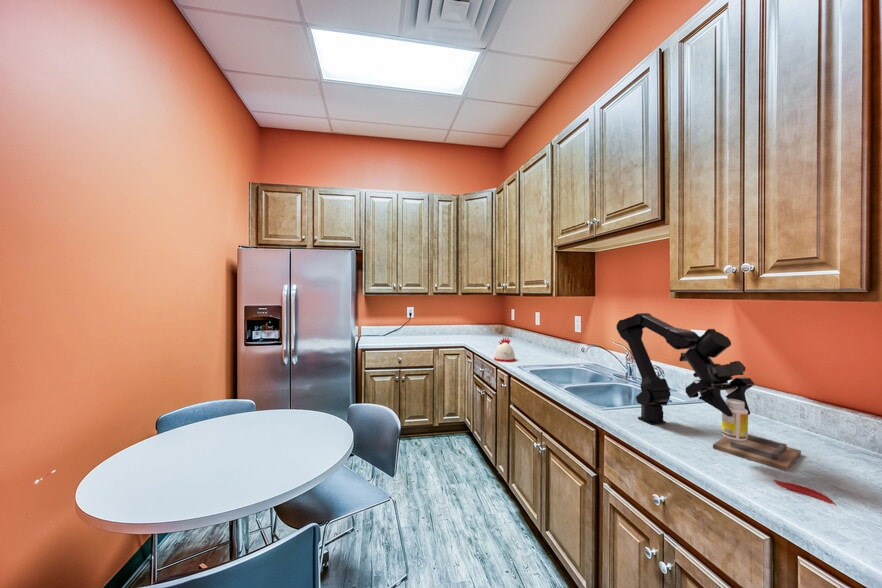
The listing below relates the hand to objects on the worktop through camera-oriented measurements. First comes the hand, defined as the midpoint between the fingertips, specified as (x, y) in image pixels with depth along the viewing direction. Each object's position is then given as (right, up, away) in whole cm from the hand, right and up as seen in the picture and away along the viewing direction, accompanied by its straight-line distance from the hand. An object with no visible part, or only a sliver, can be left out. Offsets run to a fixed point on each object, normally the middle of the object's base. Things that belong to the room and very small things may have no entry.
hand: (740, 415), depth 96 cm
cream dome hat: (-39, -11, +139) cm, 145 cm away
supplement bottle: (0, -7, +2) cm, 7 cm away
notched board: (+11, -13, +7) cm, 18 cm away
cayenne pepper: (+3, -14, -13) cm, 20 cm away
